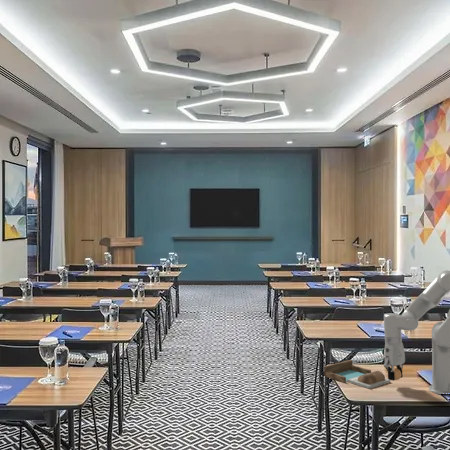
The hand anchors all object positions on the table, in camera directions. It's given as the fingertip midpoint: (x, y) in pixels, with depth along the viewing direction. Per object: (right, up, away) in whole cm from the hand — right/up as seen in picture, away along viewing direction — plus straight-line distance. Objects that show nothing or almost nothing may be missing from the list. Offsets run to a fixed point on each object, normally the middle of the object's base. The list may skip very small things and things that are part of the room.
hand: (395, 378), depth 238 cm
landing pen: (-18, -4, +17) cm, 25 cm away
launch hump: (-10, -6, +5) cm, 13 cm away
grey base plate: (-11, -4, +6) cm, 13 cm away
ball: (0, -1, 0) cm, 1 cm away
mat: (-18, -4, +17) cm, 25 cm away
